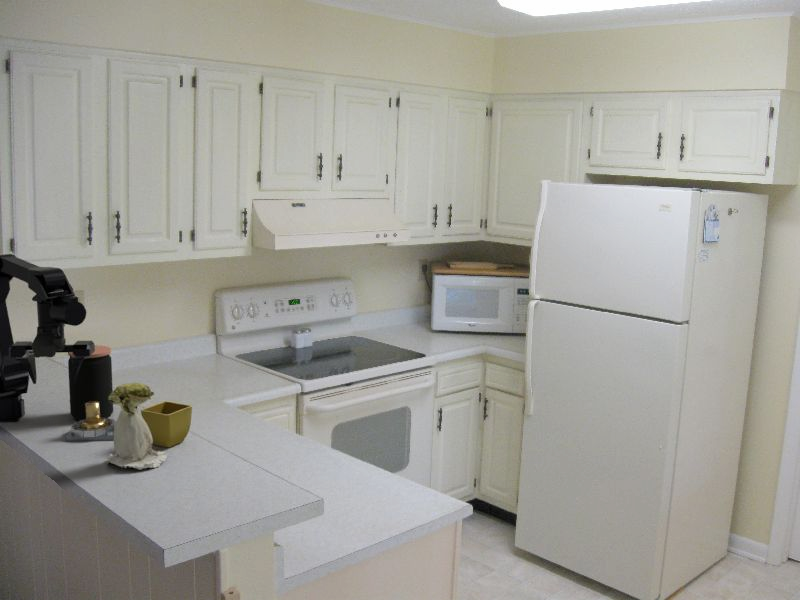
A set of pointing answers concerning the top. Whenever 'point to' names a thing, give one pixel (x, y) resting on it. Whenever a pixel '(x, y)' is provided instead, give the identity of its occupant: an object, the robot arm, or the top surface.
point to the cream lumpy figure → (133, 429)
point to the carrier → (91, 432)
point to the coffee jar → (91, 383)
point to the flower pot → (168, 422)
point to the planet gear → (93, 417)
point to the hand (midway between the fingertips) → (54, 383)
